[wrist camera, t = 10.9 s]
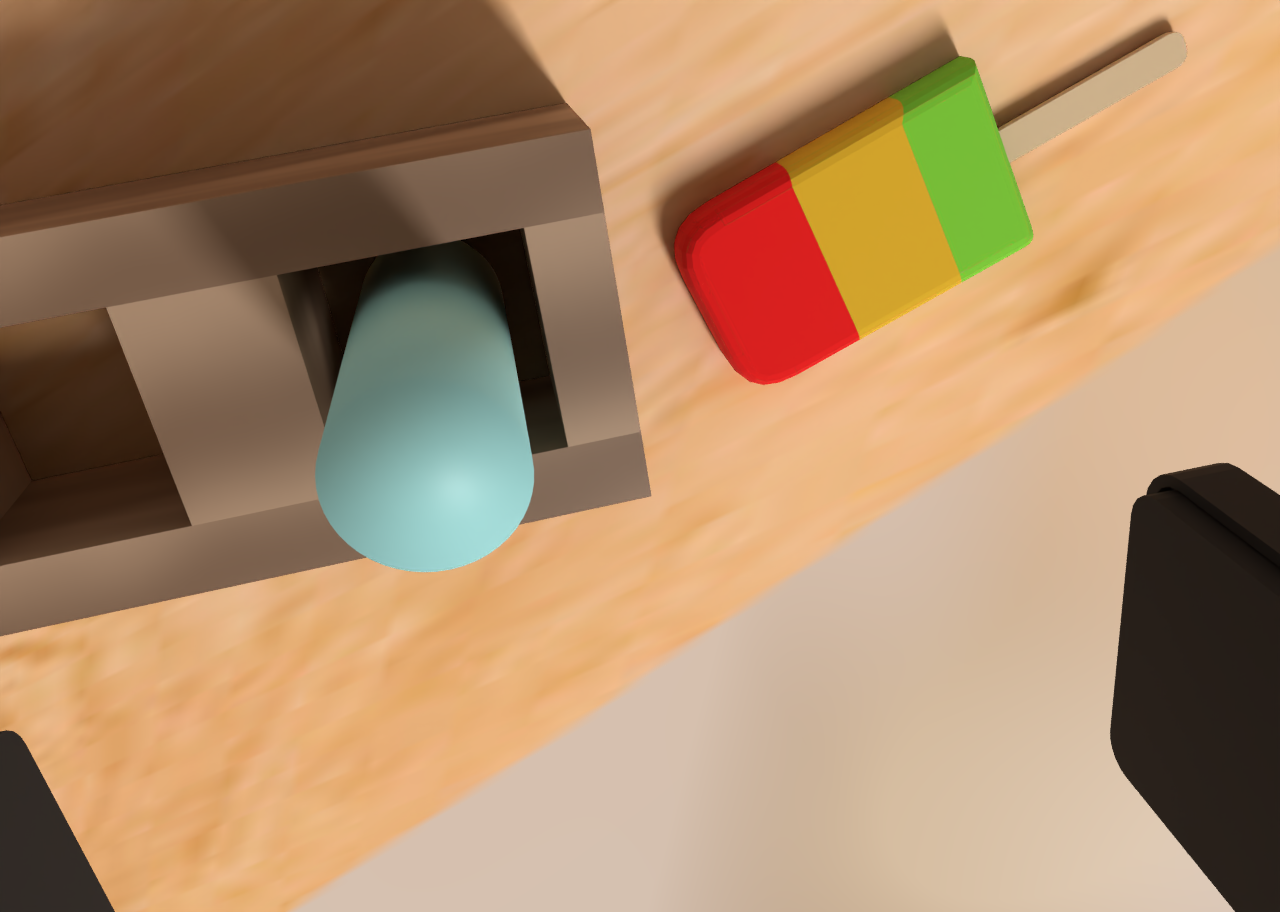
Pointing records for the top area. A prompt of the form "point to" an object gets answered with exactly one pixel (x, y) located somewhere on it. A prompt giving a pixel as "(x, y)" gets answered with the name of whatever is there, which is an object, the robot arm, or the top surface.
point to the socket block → (291, 350)
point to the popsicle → (879, 214)
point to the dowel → (427, 416)
